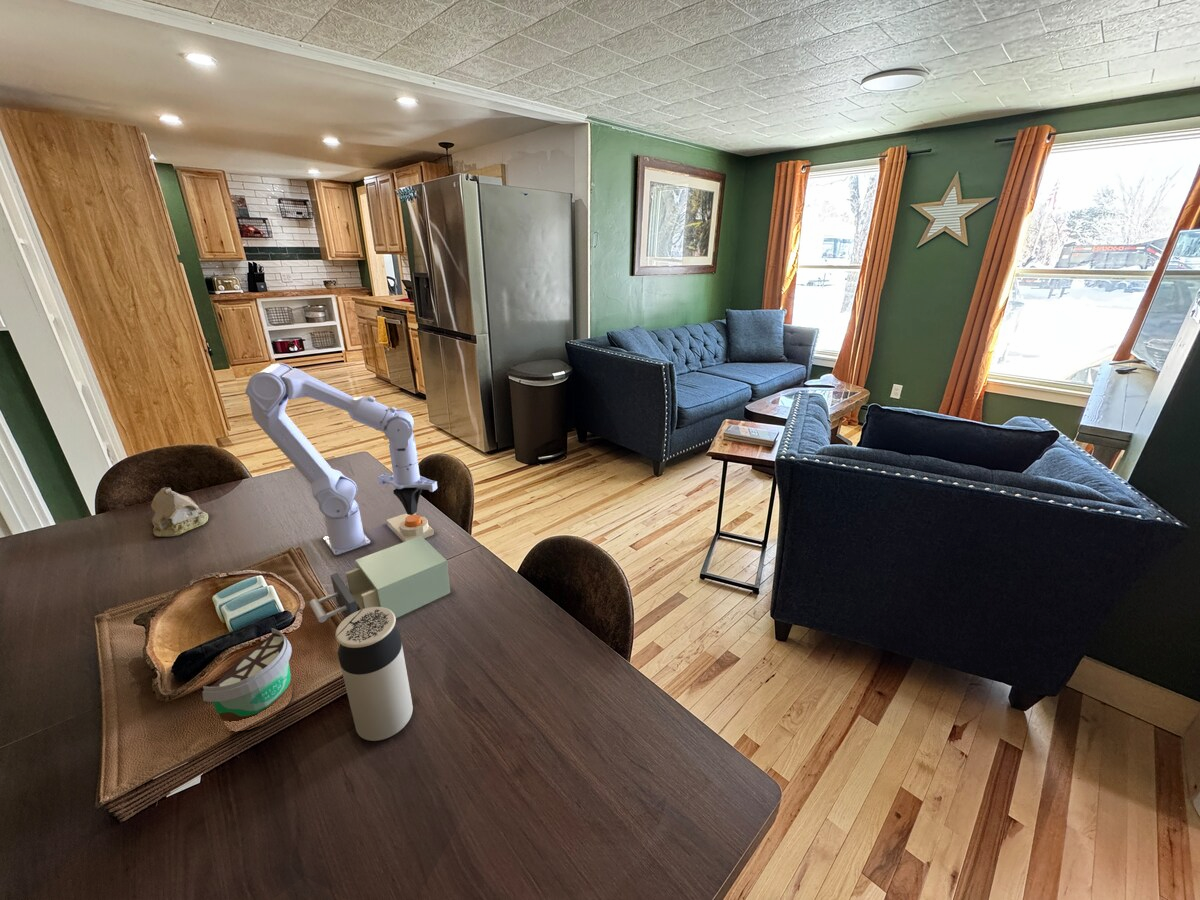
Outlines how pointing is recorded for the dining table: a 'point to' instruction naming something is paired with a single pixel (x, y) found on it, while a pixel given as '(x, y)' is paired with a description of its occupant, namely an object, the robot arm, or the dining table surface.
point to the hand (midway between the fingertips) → (412, 512)
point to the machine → (406, 575)
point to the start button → (413, 520)
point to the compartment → (348, 595)
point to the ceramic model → (175, 513)
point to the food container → (253, 680)
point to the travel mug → (374, 672)
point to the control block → (409, 528)
